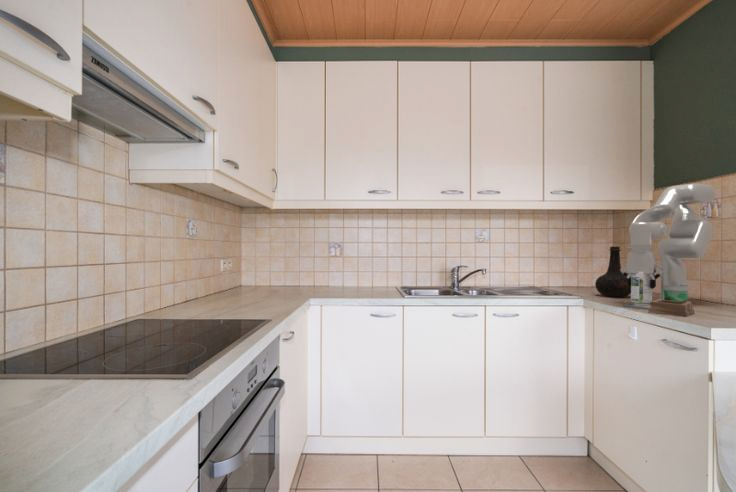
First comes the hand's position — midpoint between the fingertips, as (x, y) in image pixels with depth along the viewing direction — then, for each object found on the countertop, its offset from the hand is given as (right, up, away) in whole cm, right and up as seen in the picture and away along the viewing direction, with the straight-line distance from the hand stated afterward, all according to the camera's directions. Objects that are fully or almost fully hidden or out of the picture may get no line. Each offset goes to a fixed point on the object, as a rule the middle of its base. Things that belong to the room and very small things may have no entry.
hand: (641, 287), depth 162 cm
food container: (+16, -9, -1) cm, 19 cm away
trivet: (0, -9, 0) cm, 9 cm away
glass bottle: (+12, -9, +35) cm, 39 cm away
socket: (+1, -9, -15) cm, 17 cm away
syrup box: (0, -7, 0) cm, 7 cm away
